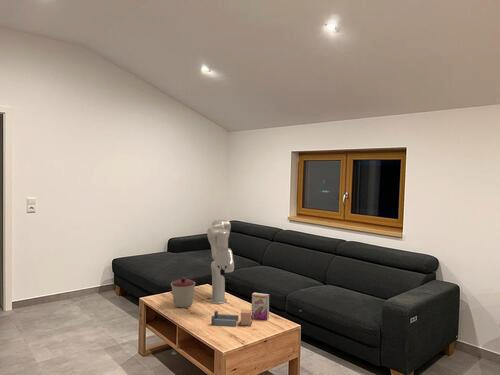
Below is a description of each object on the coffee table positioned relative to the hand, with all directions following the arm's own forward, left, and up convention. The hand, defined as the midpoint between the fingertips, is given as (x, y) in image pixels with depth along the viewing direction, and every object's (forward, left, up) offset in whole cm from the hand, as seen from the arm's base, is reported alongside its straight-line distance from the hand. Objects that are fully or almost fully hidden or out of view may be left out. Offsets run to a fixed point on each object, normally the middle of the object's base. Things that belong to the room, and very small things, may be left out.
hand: (222, 275), depth 271 cm
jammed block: (+16, +19, -27) cm, 37 cm away
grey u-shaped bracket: (+16, +5, -27) cm, 32 cm away
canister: (-12, -32, -27) cm, 44 cm away
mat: (+16, +19, -27) cm, 37 cm away
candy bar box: (+5, +27, -27) cm, 39 cm away
